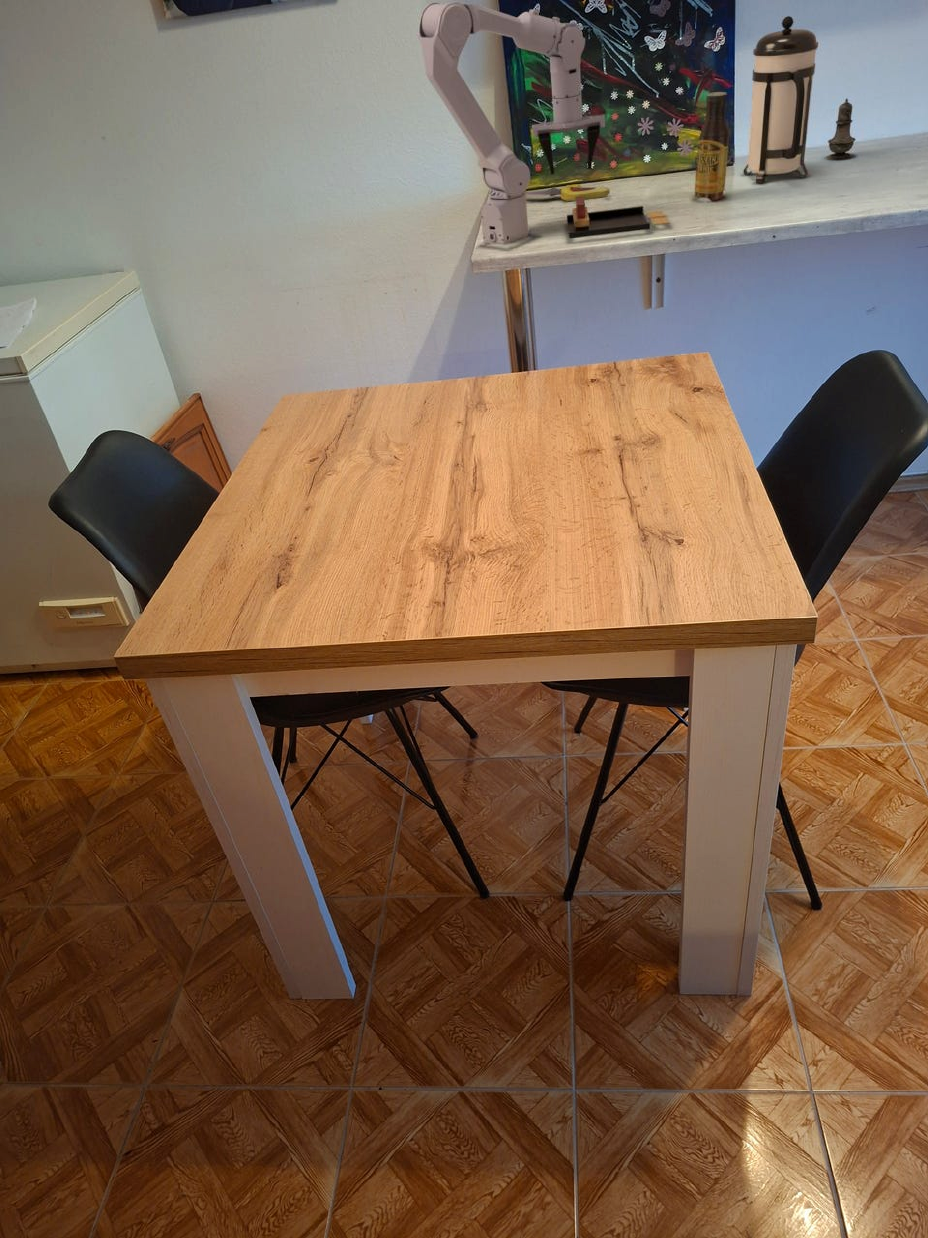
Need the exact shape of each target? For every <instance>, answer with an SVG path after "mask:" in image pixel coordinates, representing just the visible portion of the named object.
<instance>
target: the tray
mask: <svg viewBox="0 0 928 1238" xmlns="http://www.w3.org/2000/svg"><path fill="white" fill-rule="evenodd" d="M588 216H589V223H590V226H589V230H581V231H575V226H574V220H573V213H572V214H567V215H566V223H567V230H568V238H569V239H577V238H584V237H585V238H586V237H593V236H603V235H609V234H610V235H611V234H619V233H628V232H636V231H644V230H650V229H651V223H650V222H648V221H647V217H646V215H645V212H644V205H639V206H631V207H623V208H615V209H605V210H597V211H590V212H589V211H588Z"/></svg>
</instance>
